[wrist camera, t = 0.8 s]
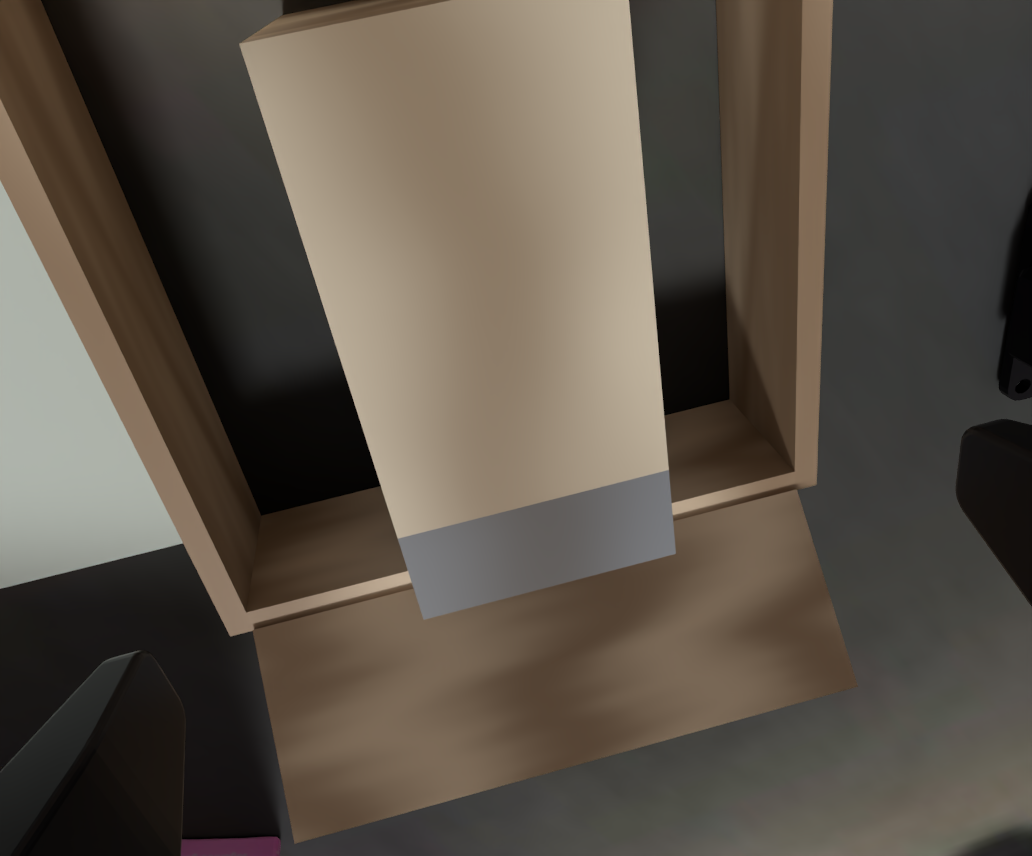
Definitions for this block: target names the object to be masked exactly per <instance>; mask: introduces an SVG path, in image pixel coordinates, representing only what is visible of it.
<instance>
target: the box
mask: <svg viewBox="0 0 1032 856" xmlns="http://www.w3.org/2000/svg"><path fill="white" fill-rule="evenodd" d="M240 47H241V50H242V54H243V57H244V60H245V63H246V66H247V69H248V72H249V76H250V79H251V82H252V85H253V88H254V91H255V94H256V97H257V101H258V104H259V107H260V110H261V113H262V116H263V119H264V122H265V126H266V129H267V132H268V135H269V138H270V141H271V144H272V147H273V151H274V154H275V157H276V160H277V163H278V166H279V169H280V172H281V176H282V179H283V182H284V185H285V188H286V191H287V194H288V197H289V201H290V204H291V207H292V210H293V213H294V216H295V219H296V222H297V226H298V229H299V232H300V235H301V238H302V241H303V244H304V247H305V251H306V254H307V257H308V260H309V263H310V266H311V269H312V272H313V276H314V279H315V282H316V285H317V288H318V291H319V294H320V297H321V301H322V304H323V307H324V310H325V313H326V316H327V319H328V322H329V326H330V329H331V332H332V335H333V338H334V341H335V344H336V347H337V351H338V354H339V357H340V360H341V363H342V366H343V369H344V372H345V376H346V379H347V382H348V385H349V388H350V391H351V394H352V397H353V401H354V404H355V407H356V410H357V413H358V416H359V419H360V422H361V426H362V429H363V432H364V435H365V438H366V441H367V444H368V447H369V451H370V454H371V457H372V460H373V463H374V466H375V469H376V472H377V476H378V479H379V482H380V485H381V488H382V491H383V494H384V497H385V501H386V504H387V507H388V510H389V513H390V516H391V519H392V522H393V526H394V529H395V532H396V535H397V538H398V541H399V544H400V547H401V551H402V554H403V557H404V560H405V563H406V566H407V569H408V572H409V576H410V579H411V582H412V585H413V588H414V591H415V594H416V597H417V601H418V604H419V607H420V610H421V613H422V616H423V619H424V620H425V619H429V618H433V617H437V616H440V615H444V614H448V613H452V612H456V611H459V610H463V609H467V608H471V607H475V606H479V605H482V604H486V603H490V602H494V601H498V600H501V599H505V598H509V597H513V596H517V595H521V594H524V593H528V592H532V591H536V590H540V589H543V588H547V587H551V586H555V585H559V584H563V583H566V582H570V581H574V580H578V579H582V578H585V577H589V576H593V575H597V574H601V573H605V572H608V571H612V570H616V569H620V568H624V567H627V566H631V565H635V564H639V563H643V562H647V561H650V560H654V559H658V558H662V557H666V556H669V555H673V554H676V549H675V537H674V525H673V514H672V502H671V490H670V478H669V467H668V455H667V443H666V431H665V420H664V408H663V396H662V384H661V372H660V361H659V349H658V337H657V325H656V314H655V302H654V290H653V278H652V267H651V255H650V243H649V231H648V220H647V208H646V196H645V184H644V173H643V161H642V149H641V137H640V125H639V114H638V102H637V90H636V78H635V67H634V55H633V43H632V31H631V20H630V8H629V0H354V1H349V2H344V3H339V4H334V5H330V6H325V7H320V8H315V9H310V10H305V11H300V12H295V13H290V14H285V15H282V16H280V17H279V18H277V19H276V20H274V21H273V22H271V23H270V24H268V25H267V26H265V27H264V28H262V29H261V30H259V31H258V32H256V33H255V34H253V35H252V36H250V37H249V38H247V39H246V40H244V41H243V42H241V43H240Z"/></svg>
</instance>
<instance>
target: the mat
mask: <svg viewBox="0 0 1032 856" xmlns="http://www.w3.org/2000/svg"><path fill="white" fill-rule="evenodd" d="M182 543H183V542H182V540H181V538H180V536H179V534H178V532H177V530H176V528H175V526H174V524H173V522H172V520H171V518H170V516H169V514H168V512H167V510H166V508H165V506H164V504H163V502H162V500H161V498H160V496H159V494H158V492H157V490H156V488H155V486H154V484H153V482H152V480H151V478H150V476H149V474H148V472H147V470H146V468H145V466H144V464H143V462H142V461H141V459H140V457H139V455H138V453H137V451H136V449H135V447H134V445H133V443H132V441H131V439H130V437H129V435H128V433H127V431H126V429H125V427H124V425H123V423H122V421H121V419H120V417H119V415H118V413H117V411H116V409H115V407H114V405H113V403H112V401H111V399H110V397H109V395H108V393H107V391H106V389H105V387H104V385H103V383H102V381H101V379H100V377H99V375H98V373H97V371H96V369H95V367H94V365H93V363H92V361H91V359H90V357H89V355H88V353H87V351H86V349H85V347H84V345H83V343H82V341H81V339H80V337H79V336H78V334H77V332H76V330H75V328H74V326H73V324H72V322H71V320H70V318H69V316H68V314H67V312H66V310H65V308H64V306H63V304H62V302H61V300H60V298H59V296H58V294H57V292H56V290H55V288H54V286H53V284H52V282H51V280H50V278H49V276H48V274H47V272H46V270H45V268H44V266H43V264H42V262H41V260H40V258H39V256H38V254H37V252H36V250H35V248H34V246H33V244H32V242H31V240H30V238H29V236H28V234H27V232H26V230H25V228H24V226H23V224H22V222H21V220H20V218H19V216H18V214H17V213H16V211H15V209H14V207H13V205H12V203H11V201H10V199H9V197H8V195H7V193H6V191H5V189H4V187H3V185H2V183H1V181H0V589H1V588H5V587H9V586H13V585H18V584H22V583H26V582H30V581H34V580H38V579H42V578H46V577H50V576H54V575H58V574H62V573H66V572H70V571H74V570H78V569H82V568H86V567H90V566H94V565H98V564H102V563H106V562H110V561H114V560H118V559H122V558H126V557H130V556H134V555H138V554H142V553H146V552H150V551H154V550H158V549H162V548H166V547H170V546H174V545H178V544H182Z"/></svg>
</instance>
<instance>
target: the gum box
mask: <svg viewBox="0 0 1032 856" xmlns="http://www.w3.org/2000/svg"><path fill="white" fill-rule="evenodd" d="M280 845H281V840H280V839H279V838H278V837H250V838H224V839H182V845H181V856H279V855H280Z"/></svg>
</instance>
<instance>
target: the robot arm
mask: <svg viewBox="0 0 1032 856" xmlns="http://www.w3.org/2000/svg"><path fill="white" fill-rule="evenodd" d="M1019 382H1020V383H1019ZM1018 383H1019V384H1018ZM1017 384H1018V385H1017ZM1016 385H1017V386H1016ZM999 390H1000V391H1001V393H1002V394H1004V395H1006V396H1007V397H1009V398H1010V399H1012V400H1023V399H1027V398H1030V397H1032V204H1031V205H1030V208H1029V211H1028V215H1027V220H1026V226H1025V232H1024V238H1023V244H1022V250H1021V256H1020V262H1019V268H1018V274H1017V280H1016V286H1015V292H1014V298H1013V304H1012V310H1011V316H1010V321H1009V327H1008V333H1007V339H1006V345H1005V351H1004V357H1003V363H1002V369H1001V375H1000V381H999ZM956 496H957V499H958V502H959V504H960V507H961V508H962V510H963V512H964V513H965V515H966V516H967V517H968V519H969V520H970V521H971V523H972V524H973V526H974V527H975V528H976V530H977V531H978V533H979V534H980V535H981V537H982V538H983V540H984V541H985V542H986V544H987V545H988V547H989V548H990V549H991V551H992V552H993V554H994V555H995V556H996V558H997V559H998V560H999V562H1000V563H1001V565H1002V566H1003V567H1004V569H1005V570H1006V572H1007V573H1008V574H1009V576H1010V577H1011V579H1012V580H1013V581H1014V583H1015V584H1016V586H1017V587H1018V588H1019V590H1020V591H1021V592H1022V594H1023V595H1024V597H1025V598H1026V599H1027V601H1028V602H1029V603H1030V605H1031V606H1032V425H1029V424H1025V423H1021V422H1017V421H1013V420H1008V419H1000V420H995V421H991V422H988V423H984V424H980V425H977V426H973V427H971V428H969V429H968V430H966V431H965V433H964V435H963V436H962V440H961V446H960V455H959V463H958V471H957V479H956ZM185 730H186V719H185V712H184V708H183V705H182V702H181V700H180V698H179V696H178V695H177V693H176V691H175V690H174V688H173V687H172V685H171V683H170V682H169V680H168V679H167V677H166V675H165V674H164V672H163V670H162V669H161V667H160V666H159V664H158V662H157V661H156V659H155V658H154V657H153V655H152V654H150V653H149V652H147V651H142V650H140V651H135V652H132V653H128V654H124V655H120V656H117V657H113V658H110V659H108V660H106V661H104V662H103V663H102V664H101V665H99V666H98V667H97V669H96V670H95V671H94V672H93V673H92V674H91V675H90V676H89V677H88V678H87V679H86V680H85V681H84V682H83V683H82V685H81V686H80V687H79V688H78V689H77V690H76V691H75V692H74V693H73V694H72V695H71V696H70V697H69V698H68V699H67V700H66V702H65V703H64V704H63V705H62V706H61V707H60V708H59V709H58V710H57V711H56V712H55V713H54V714H53V715H52V716H51V718H50V719H49V720H48V721H47V722H46V723H45V724H44V725H43V726H42V727H41V728H40V729H39V730H38V731H37V732H36V734H35V735H34V736H33V737H32V738H31V739H30V740H29V741H28V742H27V743H26V744H25V745H24V746H23V747H22V748H21V750H20V751H19V752H18V753H17V754H16V755H15V756H14V757H13V758H12V759H11V760H10V761H9V762H8V763H7V764H6V766H5V767H4V768H3V769H2V770H1V771H0V856H181V845H182V820H183V790H184V760H185Z"/></svg>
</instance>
